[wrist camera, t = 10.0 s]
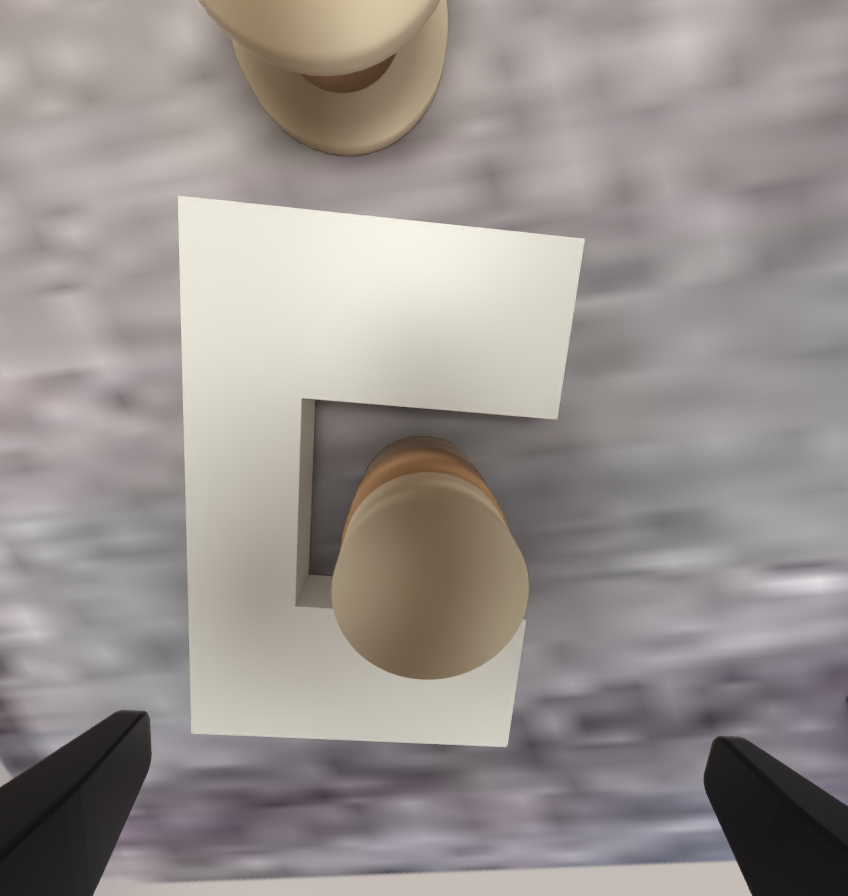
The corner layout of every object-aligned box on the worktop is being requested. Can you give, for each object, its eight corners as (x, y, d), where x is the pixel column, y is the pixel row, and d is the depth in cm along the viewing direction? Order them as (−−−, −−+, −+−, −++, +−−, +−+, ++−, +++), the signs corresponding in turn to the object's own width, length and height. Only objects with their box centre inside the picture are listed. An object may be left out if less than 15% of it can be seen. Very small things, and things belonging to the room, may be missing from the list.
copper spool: (488, 439, 19) (547, 504, 11) (474, 554, 20) (518, 687, 12) (362, 428, 19) (332, 488, 11) (355, 546, 20) (322, 678, 12)
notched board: (560, 253, 17) (585, 238, 15) (496, 701, 22) (507, 747, 19) (211, 217, 17) (177, 195, 14) (216, 688, 21) (191, 733, 19)
